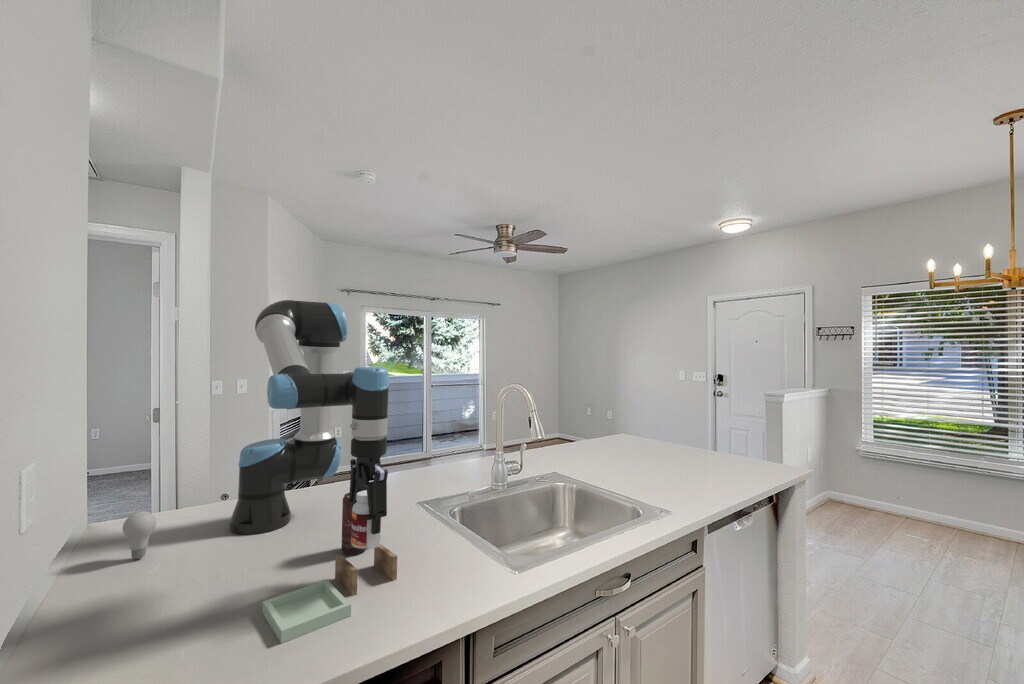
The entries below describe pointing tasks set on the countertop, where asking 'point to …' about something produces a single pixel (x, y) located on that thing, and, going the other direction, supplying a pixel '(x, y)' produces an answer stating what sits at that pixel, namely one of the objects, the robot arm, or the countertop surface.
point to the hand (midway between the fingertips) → (366, 541)
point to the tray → (305, 610)
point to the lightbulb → (139, 532)
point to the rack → (348, 572)
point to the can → (348, 529)
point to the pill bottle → (360, 520)
